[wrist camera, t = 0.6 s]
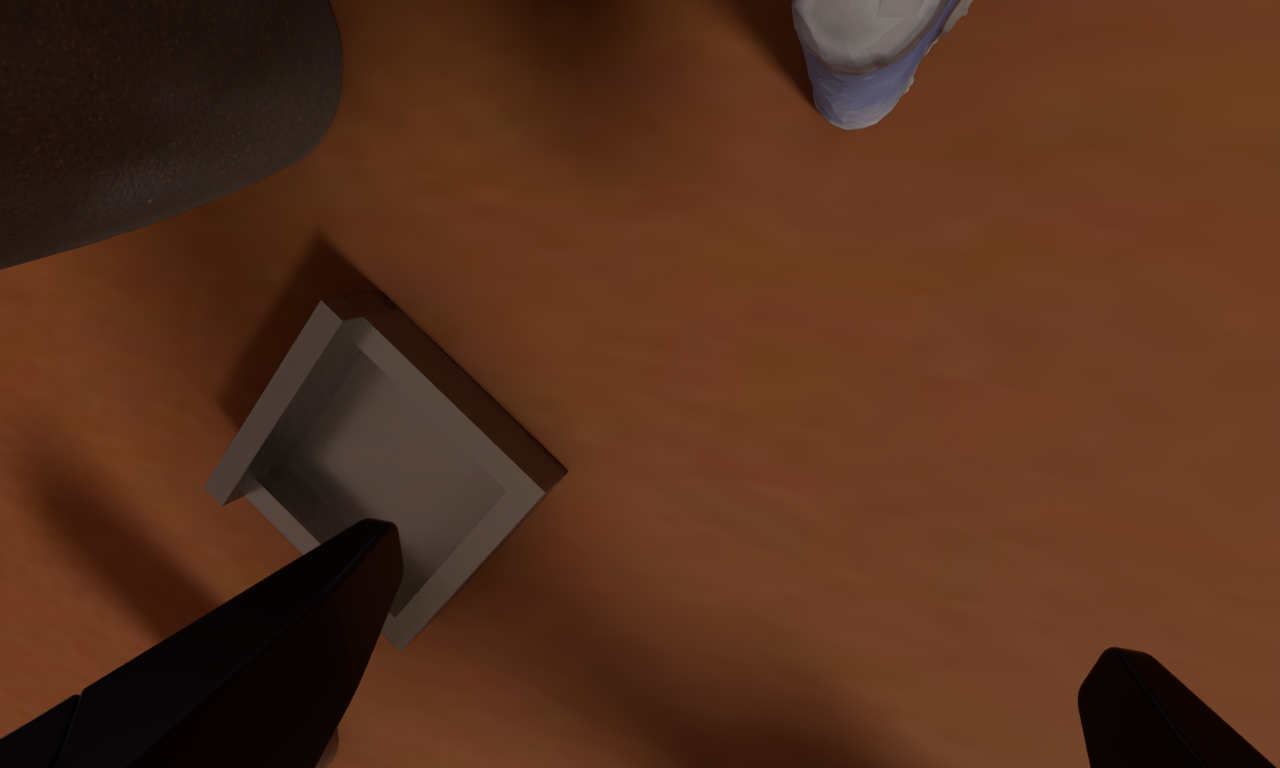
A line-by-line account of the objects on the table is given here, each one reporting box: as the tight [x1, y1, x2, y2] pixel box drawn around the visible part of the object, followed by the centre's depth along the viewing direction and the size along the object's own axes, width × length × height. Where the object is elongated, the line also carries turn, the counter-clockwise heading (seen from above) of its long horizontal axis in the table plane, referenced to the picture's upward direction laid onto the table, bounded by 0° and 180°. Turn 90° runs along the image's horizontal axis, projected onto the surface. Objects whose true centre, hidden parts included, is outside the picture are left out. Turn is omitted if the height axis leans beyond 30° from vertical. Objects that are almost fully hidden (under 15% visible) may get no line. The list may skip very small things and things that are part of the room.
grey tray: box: [204, 290, 568, 652], centre depth 25 cm, size 10×10×3 cm
